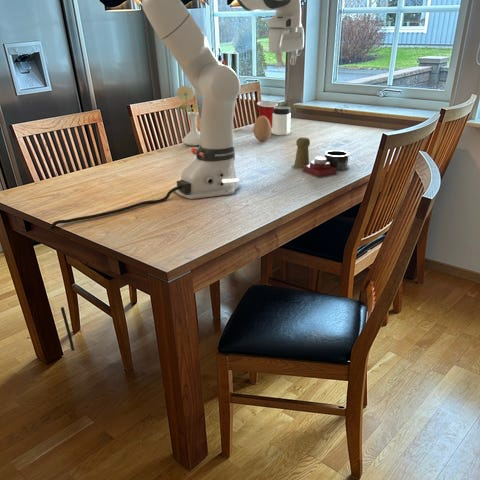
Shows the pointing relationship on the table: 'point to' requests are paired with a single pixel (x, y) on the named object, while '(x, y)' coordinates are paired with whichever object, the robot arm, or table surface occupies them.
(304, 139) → the olive yellow knobbed peg
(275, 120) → the jar
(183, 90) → the flower in vase
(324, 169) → the panel
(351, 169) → the table surface
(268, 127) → the egg
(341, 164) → the cup
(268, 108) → the plastic cup
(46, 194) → the table surface
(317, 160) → the button
